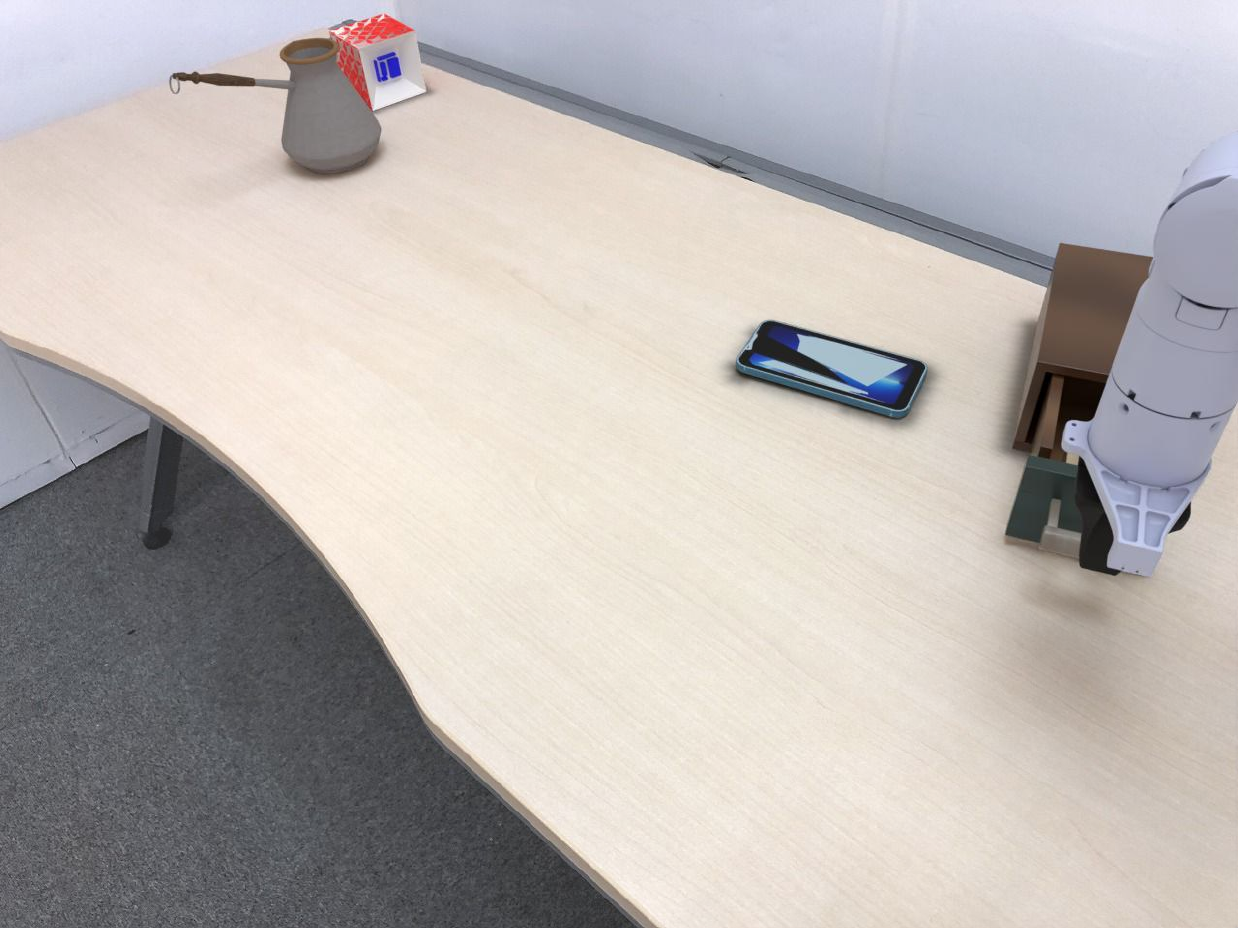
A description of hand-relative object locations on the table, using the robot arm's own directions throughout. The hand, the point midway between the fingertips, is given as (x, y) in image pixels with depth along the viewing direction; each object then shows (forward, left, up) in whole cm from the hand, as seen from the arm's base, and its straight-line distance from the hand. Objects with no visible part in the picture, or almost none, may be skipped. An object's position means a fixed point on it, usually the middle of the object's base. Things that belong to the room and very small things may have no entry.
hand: (1098, 563), depth 59 cm
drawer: (+3, -14, -8) cm, 17 cm away
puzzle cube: (+99, -44, -10) cm, 109 cm away
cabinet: (+5, -27, -9) cm, 29 cm away
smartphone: (+25, -20, -9) cm, 33 cm away
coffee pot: (+93, -24, -10) cm, 96 cm away
